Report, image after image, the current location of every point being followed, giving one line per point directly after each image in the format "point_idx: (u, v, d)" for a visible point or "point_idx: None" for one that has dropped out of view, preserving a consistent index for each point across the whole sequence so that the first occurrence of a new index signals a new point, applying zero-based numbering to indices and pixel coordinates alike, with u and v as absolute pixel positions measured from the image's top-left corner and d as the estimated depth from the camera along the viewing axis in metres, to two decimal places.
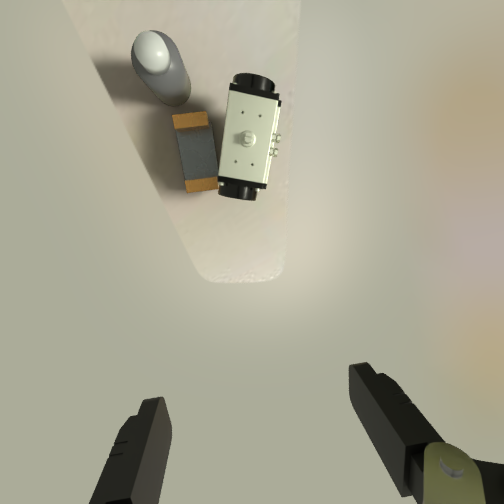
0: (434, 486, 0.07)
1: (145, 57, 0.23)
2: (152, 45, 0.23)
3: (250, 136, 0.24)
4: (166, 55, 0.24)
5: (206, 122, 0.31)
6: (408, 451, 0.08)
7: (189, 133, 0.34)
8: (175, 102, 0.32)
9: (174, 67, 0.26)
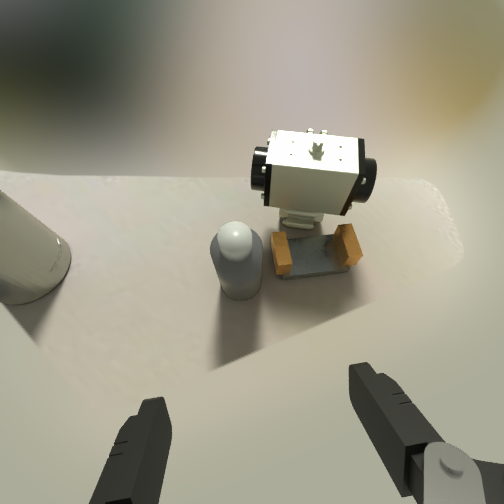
0: (434, 486, 0.07)
1: (242, 241, 0.21)
2: (230, 233, 0.21)
3: (317, 139, 0.23)
4: None
5: (283, 232, 0.29)
6: (408, 451, 0.08)
7: None
8: None
9: None
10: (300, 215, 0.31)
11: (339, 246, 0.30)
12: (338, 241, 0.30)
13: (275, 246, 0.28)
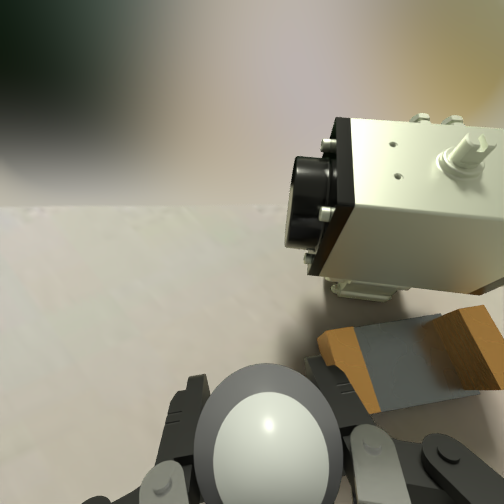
0: (352, 461, 0.07)
1: (298, 482, 0.06)
2: (256, 446, 0.07)
3: (474, 136, 0.09)
4: None
5: (348, 330, 0.14)
6: (340, 433, 0.08)
7: None
8: None
9: (284, 382, 0.09)
10: (374, 285, 0.16)
11: (458, 349, 0.15)
12: (454, 338, 0.15)
13: (337, 365, 0.13)
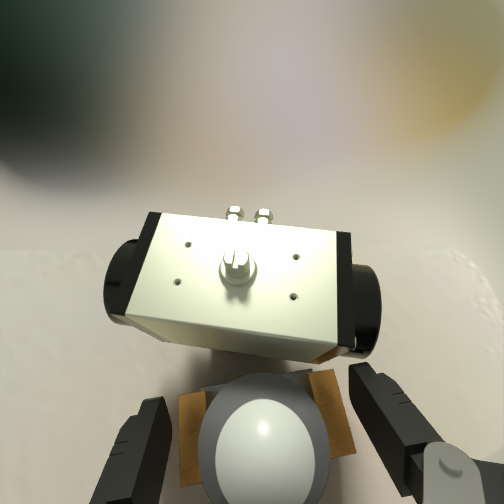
0: (433, 486, 0.07)
1: (288, 478, 0.07)
2: (253, 447, 0.08)
3: (234, 251, 0.10)
4: (273, 401, 0.08)
5: (200, 394, 0.15)
6: (408, 451, 0.08)
7: None
8: None
9: (278, 389, 0.10)
10: None
11: None
12: None
13: (181, 432, 0.14)
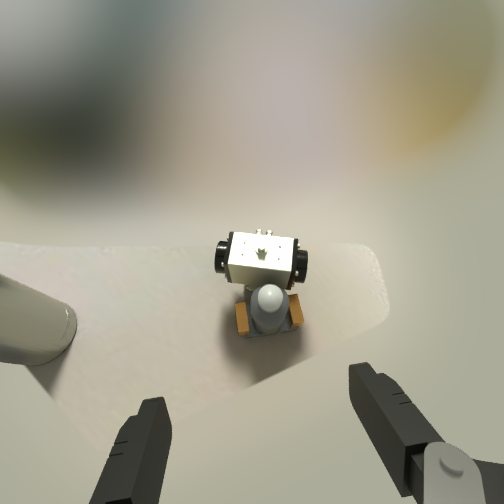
0: (434, 486, 0.07)
1: (276, 300, 0.29)
2: (267, 294, 0.30)
3: (260, 245, 0.32)
4: (272, 285, 0.30)
5: (243, 303, 0.37)
6: (408, 451, 0.08)
7: (250, 324, 0.38)
8: None
9: None
10: (258, 286, 0.39)
11: (288, 311, 0.38)
12: (288, 307, 0.38)
13: (237, 315, 0.36)
